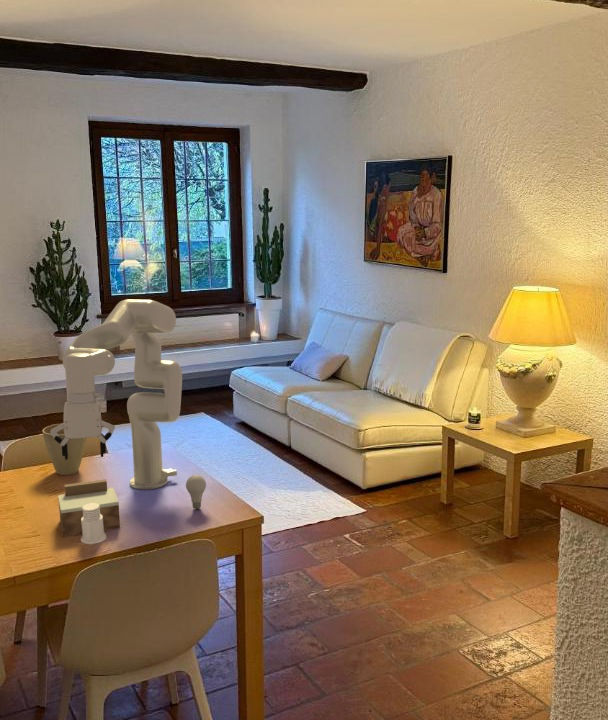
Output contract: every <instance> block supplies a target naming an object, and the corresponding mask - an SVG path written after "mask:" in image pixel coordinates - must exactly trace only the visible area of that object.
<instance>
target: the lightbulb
mask: <svg viewBox="0 0 608 720" xmlns="http://www.w3.org/2000/svg"><path fill="white" fill-rule="evenodd" d="M185 482H186V483H185V488H186V490H187V492H188V493H189V496H190V499H191V502H192V508H193V509H194V510H199V509H200V508H201V506H202V501H203V495H204V493H205V489H206V487H207V483H206V480H205V478H204V477H203V476H201V475H199V474H193V475H191V476H189V477H188V479H187V480H186V481H185Z"/></svg>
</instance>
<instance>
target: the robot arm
mask: <svg viewBox="0 0 608 720" xmlns="http://www.w3.org/2000/svg"><path fill="white" fill-rule="evenodd" d="M176 324H177V317H176V313H175V312H174V310H173V308H171V307H170V306H168V305H166V304H164V303H161V302H159V301H157V300H152V299H130V298H129V299H123V300H121V301H119V302H118V303H117V304H116V305H115V307H114V308H113V310H112V311H111V312H110V313H109V315H108V316H107V317H106V319H105V320H104V322H103V323H102V324H99V325H97V326H94V327H93V328H91V329H89V330H86V331H85V332H83V333H80V335H78V336H77V337H75V338H74V340H72V342H71V343H70V344H69V346H68V347H67V349H66V350H65V352H64V354H63V358H62V366H63V367H64V369H65V370H64V371H65V385H66V401H65V402H64V405H63V422H62V423H59V424H60V425H59V426H57V427H55V428H53V429H51V431H50V433H51V434H52V436H53V437H54V439H55V440H56V441H57V442H58V443H59V444H60V445H61V446H62V456H65V460H67V459H68V444H67V441H68V440H69V439H79V438H86V439H90V438H91V439H92V438H97V439H98V440H99V447H100V457H101V458H104V454H106V453H107V448H106V442H108V440H109V439H111V437H112V435H113V433H114V431H115V429H116V427H115V425H113V424H112V423H110V422H108V421H107V422H106V421H104V420H102V414H101V407H100V403H99V400H97V399H98V398H101V397H102V396H101V392H99V391H98V392H97V391H96V388H95V387H96V384H95V377H98V376H99V377H100V376H105V375H108V374H109V373H111V372H112V371H113V369H114V368H115V364H116V360H115V355H114V354H113V352H111V351H110V350H109V349H112V348H116V347H120V346H122V345H123V344H124V343H126V341H127V340H128V338H129V337H130V336H132V339H133V342H134V347H135V350H134V353H135V354H134V367H133V379H134V380H133V381H134V384H135V385H136V386H137V387H138V388H144V389H155V390H156V389H157V390H163V391H164V393H162V392H146V391H144V392H143V391H142V392H141V391H139V392H135V393H133V394H131V395H130V396H129V397H128V399H127V403H126V409H127V414H128V418H129V423H130V428H131V442H132V443H131V444H132V461H133V463H132V464H133V476H134V477H132V478H131V479H130V480H129V486H130V487H131V488H133V489H137V490H145V491H146V490H154V489H159V488H161V487H163V486H165V485H167V484H168V482H169V479H168V477H175V476H178V472H177V469H172V468H168V469H165V468H164V467H163V450H162V433H161V430H160V427H159V426H158V424H157V423H173V422H176V421H177V420H178V419H179V417H180V415H181V414H180V413H181V406H182V405H181V404H182V391H183V390H182V389H183V372H182V371H183V370H182V367H181V366H180V364H179V363H178V362H176V361H175V360H163V359H162V343H161V341H160V339H159V338H158V335H156V334H168V333H171V332H172V331H173V330H175V327H176ZM103 428H106V429H108V431H107V432H106V434H105V435H104V434H103V433H102V431H103ZM62 429H64V438H63V439H62V438H61V437H60V436H59V435H58V434H57V432H58V431H60V430H62Z"/></svg>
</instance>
